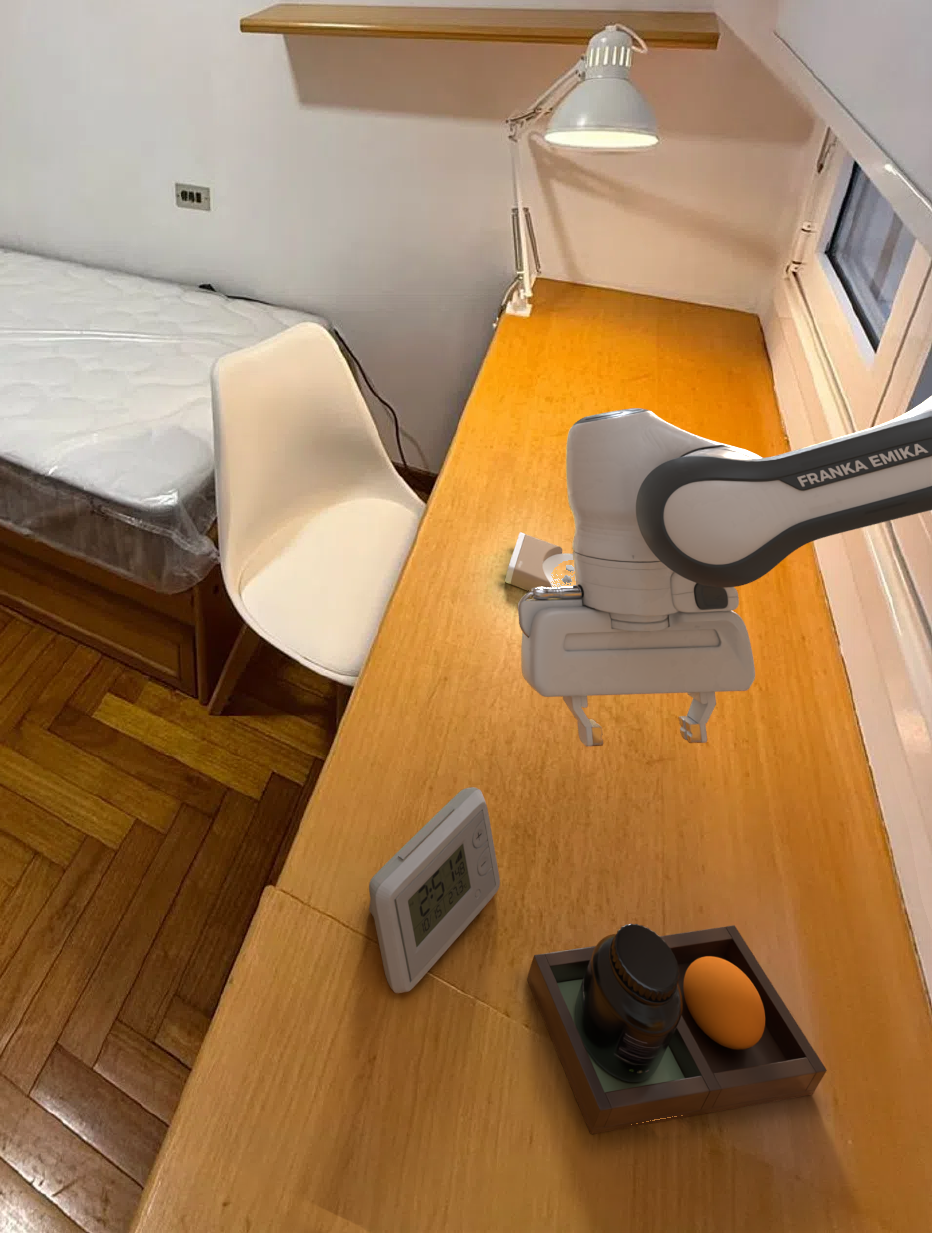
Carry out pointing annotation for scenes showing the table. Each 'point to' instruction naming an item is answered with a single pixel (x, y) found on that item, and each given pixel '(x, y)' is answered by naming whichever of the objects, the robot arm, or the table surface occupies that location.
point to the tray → (678, 1045)
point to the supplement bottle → (629, 1002)
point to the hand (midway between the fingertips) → (642, 742)
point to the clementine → (724, 1003)
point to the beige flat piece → (536, 563)
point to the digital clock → (434, 888)
